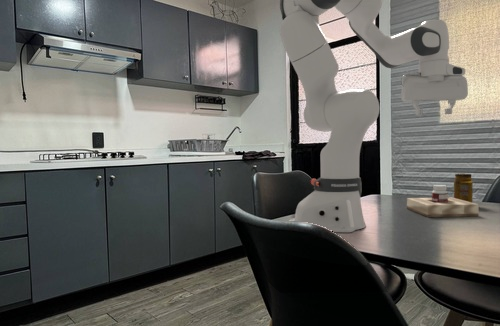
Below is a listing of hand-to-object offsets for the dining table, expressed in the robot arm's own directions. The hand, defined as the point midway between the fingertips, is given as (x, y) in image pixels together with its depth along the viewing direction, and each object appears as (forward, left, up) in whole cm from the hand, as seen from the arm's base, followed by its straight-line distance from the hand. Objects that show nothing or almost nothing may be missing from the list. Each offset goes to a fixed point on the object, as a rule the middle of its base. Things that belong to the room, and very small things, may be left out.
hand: (433, 114), depth 114 cm
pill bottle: (+4, +4, -32) cm, 33 cm away
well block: (+4, +4, -33) cm, 34 cm away
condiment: (+18, +16, -33) cm, 41 cm away
